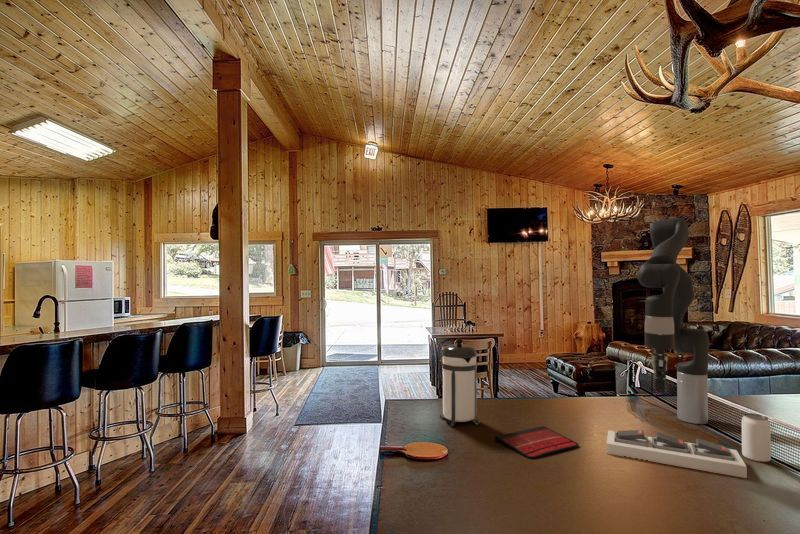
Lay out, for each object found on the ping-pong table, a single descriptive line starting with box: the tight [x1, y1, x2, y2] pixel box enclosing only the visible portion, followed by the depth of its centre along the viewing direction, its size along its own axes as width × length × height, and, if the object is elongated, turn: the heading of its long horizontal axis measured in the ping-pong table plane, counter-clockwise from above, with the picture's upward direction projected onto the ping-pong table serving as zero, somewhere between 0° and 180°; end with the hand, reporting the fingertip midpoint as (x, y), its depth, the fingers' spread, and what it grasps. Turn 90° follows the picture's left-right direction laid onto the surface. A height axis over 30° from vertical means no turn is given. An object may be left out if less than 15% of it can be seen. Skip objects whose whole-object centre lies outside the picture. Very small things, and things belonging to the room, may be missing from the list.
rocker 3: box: [695, 437, 729, 456], centre depth 121 cm, size 4×7×1 cm, turn 62°
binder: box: [494, 425, 579, 460], centre depth 135 cm, size 16×2×21 cm
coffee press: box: [439, 337, 481, 428], centre depth 157 cm, size 17×16×30 cm
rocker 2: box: [655, 431, 686, 449], centre depth 125 cm, size 4×7×1 cm, turn 62°
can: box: [741, 412, 772, 463], centre depth 125 cm, size 6×6×12 cm
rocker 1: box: [617, 429, 646, 439], centre depth 130 cm, size 4×7×1 cm, turn 62°
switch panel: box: [606, 429, 748, 479], centre depth 125 cm, size 12×33×4 cm, turn 62°
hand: (659, 389), depth 127 cm, fingers open, 3 cm apart
